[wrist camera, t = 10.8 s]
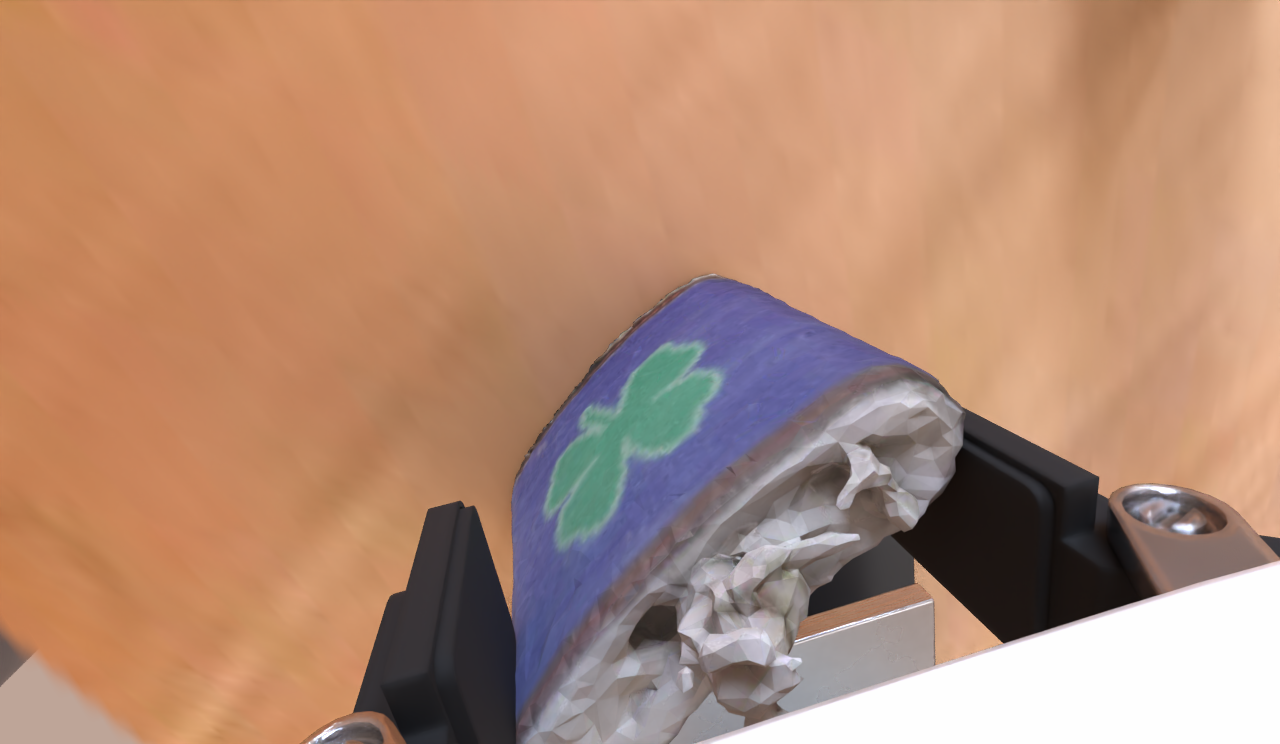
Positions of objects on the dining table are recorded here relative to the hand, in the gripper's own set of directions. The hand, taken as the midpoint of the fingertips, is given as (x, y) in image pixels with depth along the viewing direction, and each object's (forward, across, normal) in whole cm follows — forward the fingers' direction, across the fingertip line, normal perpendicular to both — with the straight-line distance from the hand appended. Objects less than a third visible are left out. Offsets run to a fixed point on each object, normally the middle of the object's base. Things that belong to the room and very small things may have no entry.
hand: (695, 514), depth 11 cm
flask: (+7, 0, 0) cm, 7 cm away
